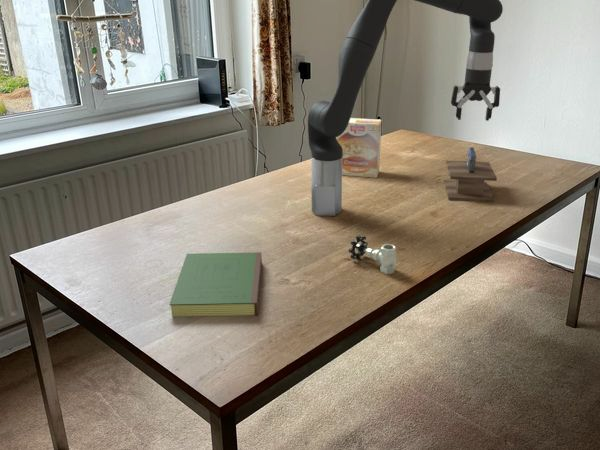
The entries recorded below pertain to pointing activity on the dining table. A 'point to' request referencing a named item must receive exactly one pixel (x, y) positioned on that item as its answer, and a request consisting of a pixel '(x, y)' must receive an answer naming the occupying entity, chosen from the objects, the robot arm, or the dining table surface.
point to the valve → (376, 254)
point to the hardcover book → (218, 285)
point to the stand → (469, 181)
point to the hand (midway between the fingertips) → (472, 119)
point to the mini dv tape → (471, 160)
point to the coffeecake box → (361, 147)
